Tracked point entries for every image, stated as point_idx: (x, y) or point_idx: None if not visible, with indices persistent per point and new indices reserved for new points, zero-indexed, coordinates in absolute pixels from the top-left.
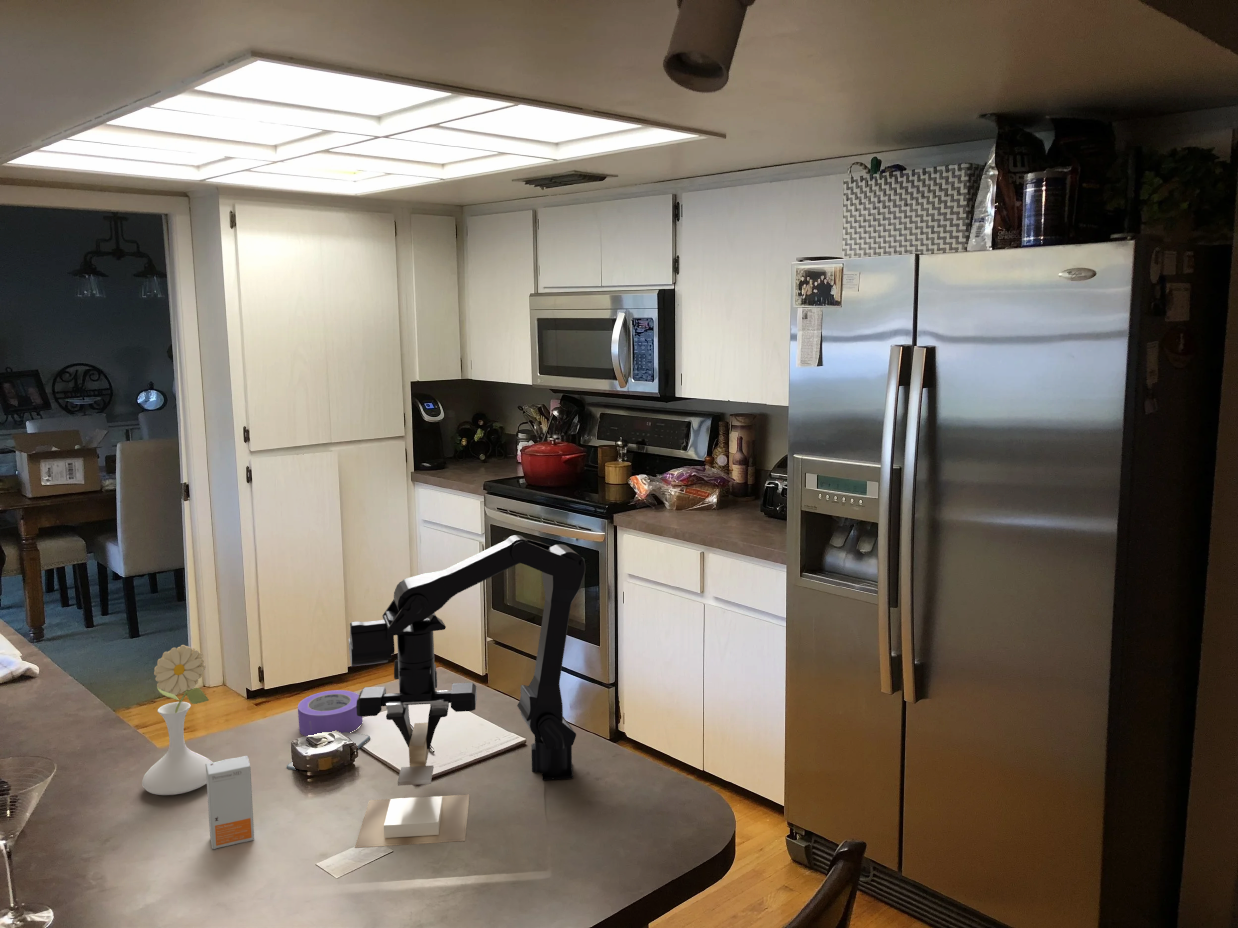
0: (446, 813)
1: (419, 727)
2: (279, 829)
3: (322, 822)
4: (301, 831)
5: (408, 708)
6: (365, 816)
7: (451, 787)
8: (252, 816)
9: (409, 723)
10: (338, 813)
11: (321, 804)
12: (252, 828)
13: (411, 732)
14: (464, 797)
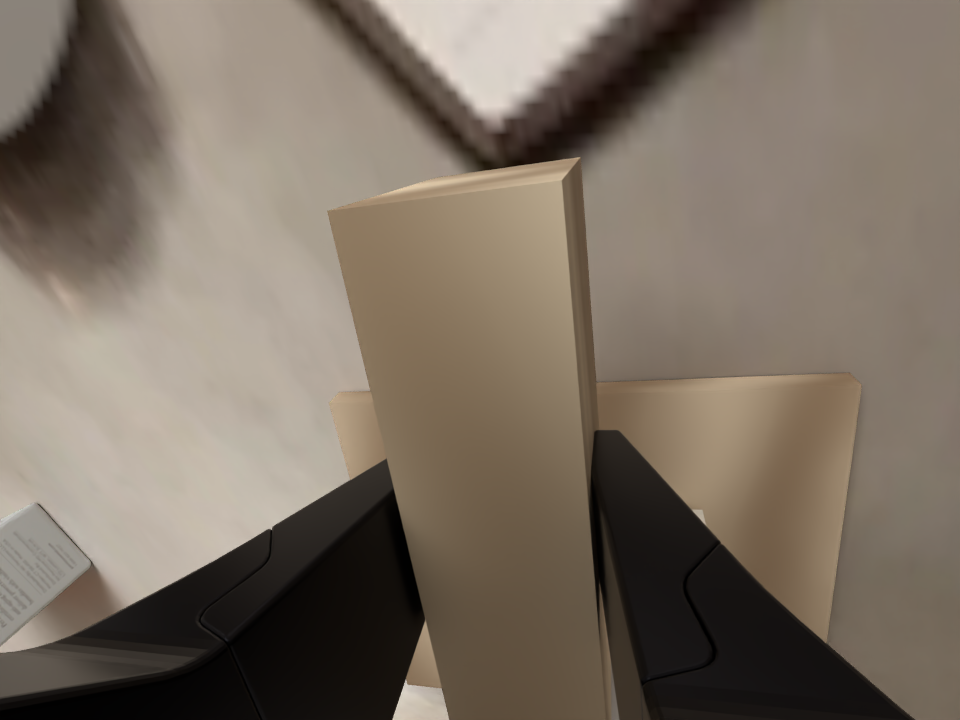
0: (723, 544)
1: (447, 372)
2: (121, 519)
3: (227, 497)
4: (193, 539)
5: (65, 716)
6: None
7: (731, 231)
8: (17, 630)
9: (317, 644)
10: (250, 445)
11: (152, 374)
12: (56, 596)
13: (390, 520)
14: (826, 415)
